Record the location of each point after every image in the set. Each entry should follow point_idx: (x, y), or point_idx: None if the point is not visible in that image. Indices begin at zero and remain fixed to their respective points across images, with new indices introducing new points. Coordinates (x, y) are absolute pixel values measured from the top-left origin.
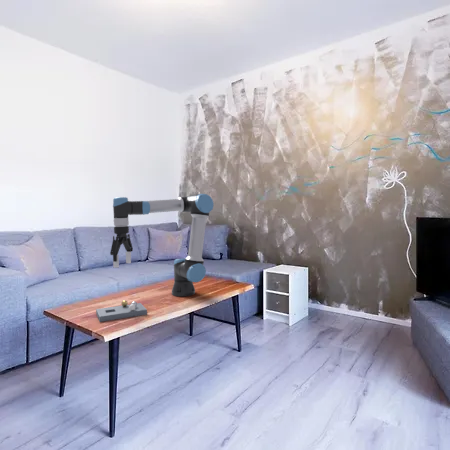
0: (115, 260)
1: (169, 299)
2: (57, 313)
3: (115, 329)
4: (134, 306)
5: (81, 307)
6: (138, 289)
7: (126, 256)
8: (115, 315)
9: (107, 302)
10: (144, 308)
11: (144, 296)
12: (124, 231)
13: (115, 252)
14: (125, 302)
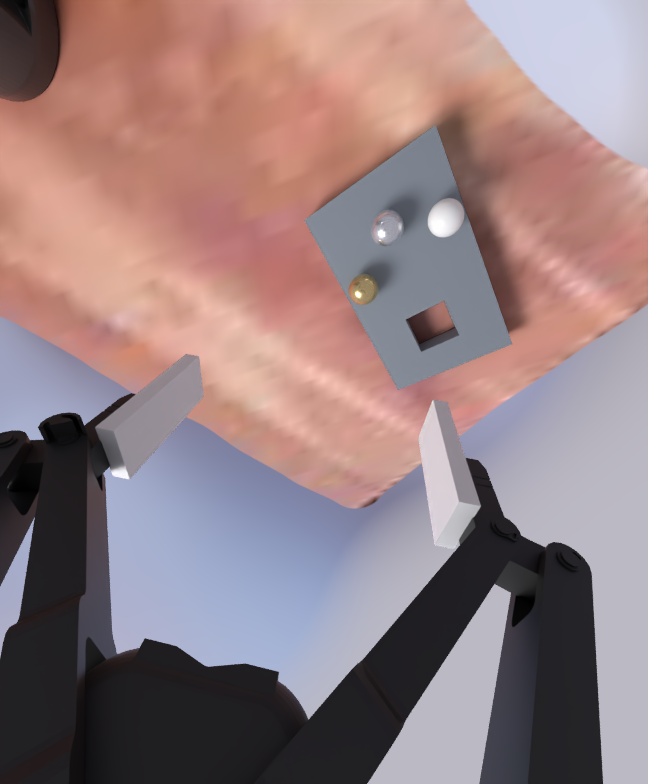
0: (484, 472)
1: (135, 74)
2: (377, 485)
3: (638, 230)
4: (456, 201)
5: (316, 446)
6: (49, 327)
7: (165, 432)
8: (490, 285)
9: (251, 388)
10: (411, 151)
11: (133, 262)
12: None
13: (563, 570)
14: (373, 282)
